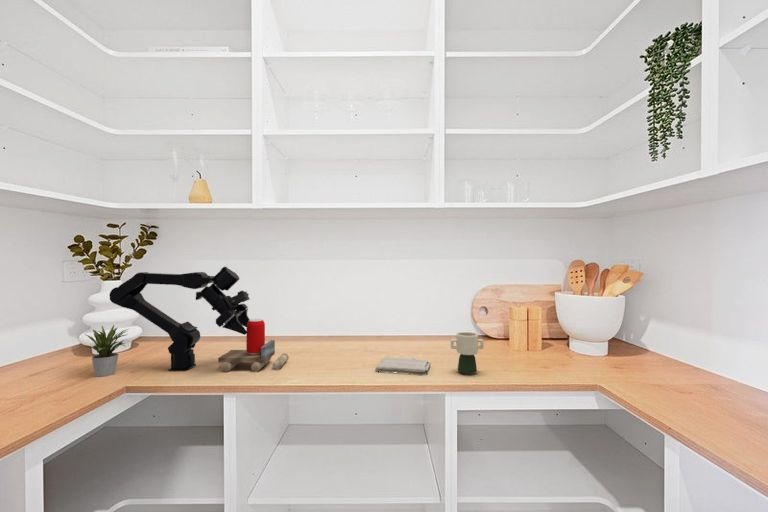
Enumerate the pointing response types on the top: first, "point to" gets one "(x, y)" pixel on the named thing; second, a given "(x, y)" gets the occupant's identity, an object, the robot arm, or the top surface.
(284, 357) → the roller
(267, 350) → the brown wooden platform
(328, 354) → the top surface
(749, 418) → the top surface
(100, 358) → the house plant
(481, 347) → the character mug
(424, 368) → the washcloth
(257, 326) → the beverage can
